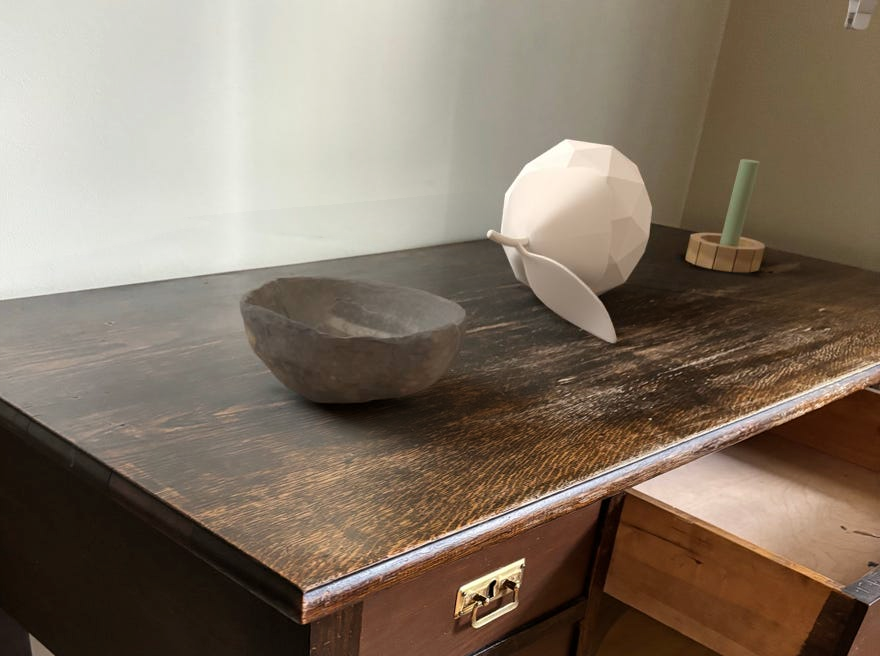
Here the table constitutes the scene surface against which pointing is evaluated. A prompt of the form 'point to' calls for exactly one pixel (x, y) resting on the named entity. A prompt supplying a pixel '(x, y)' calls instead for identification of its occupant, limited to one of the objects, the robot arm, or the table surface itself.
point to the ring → (724, 253)
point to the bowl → (352, 336)
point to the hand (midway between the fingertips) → (854, 29)
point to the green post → (739, 202)
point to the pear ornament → (576, 229)
